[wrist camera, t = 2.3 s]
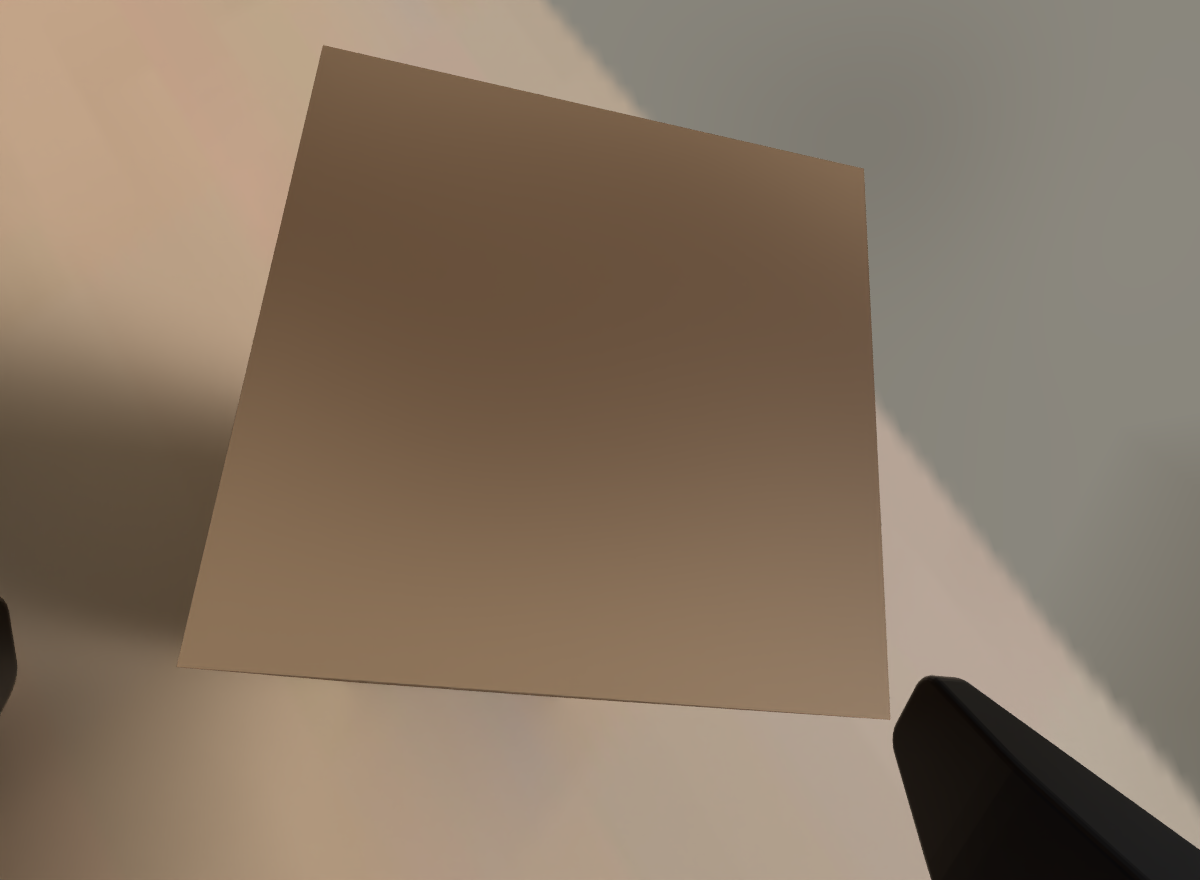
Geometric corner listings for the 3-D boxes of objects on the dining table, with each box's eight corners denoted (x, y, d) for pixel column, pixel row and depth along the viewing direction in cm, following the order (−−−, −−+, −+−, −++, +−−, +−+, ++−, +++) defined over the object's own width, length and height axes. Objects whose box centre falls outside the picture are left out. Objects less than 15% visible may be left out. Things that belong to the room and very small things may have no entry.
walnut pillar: (559, 697, 17) (889, 719, 5) (345, 681, 16) (175, 666, 4) (575, 497, 18) (864, 168, 7) (380, 472, 17) (323, 45, 6)
